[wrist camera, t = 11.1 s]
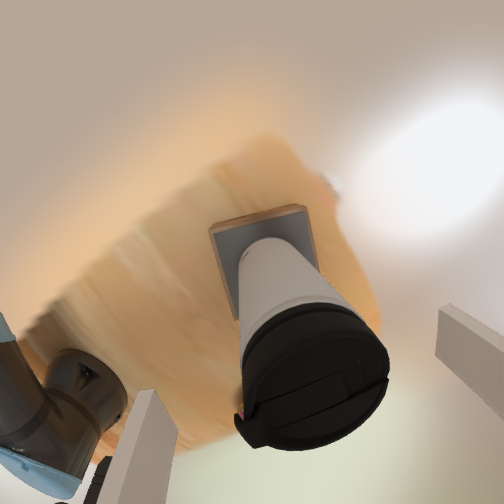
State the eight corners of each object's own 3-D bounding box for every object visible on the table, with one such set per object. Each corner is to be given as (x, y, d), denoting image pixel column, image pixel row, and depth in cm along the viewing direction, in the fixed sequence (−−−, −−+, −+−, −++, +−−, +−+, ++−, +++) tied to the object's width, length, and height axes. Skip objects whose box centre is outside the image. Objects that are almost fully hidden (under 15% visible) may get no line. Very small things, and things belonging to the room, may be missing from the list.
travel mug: (225, 251, 28) (201, 385, 8) (287, 226, 27) (395, 307, 8) (249, 306, 29) (268, 474, 9) (308, 282, 29) (406, 419, 9)
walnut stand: (234, 301, 35) (234, 322, 29) (213, 224, 33) (208, 231, 27) (311, 281, 35) (325, 298, 29) (295, 203, 33) (307, 206, 27)
